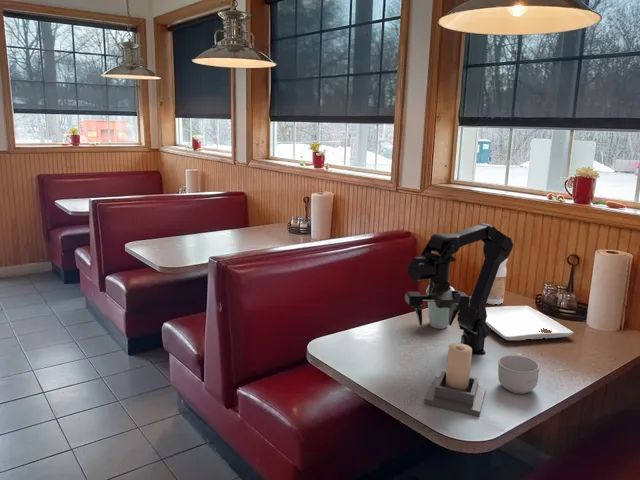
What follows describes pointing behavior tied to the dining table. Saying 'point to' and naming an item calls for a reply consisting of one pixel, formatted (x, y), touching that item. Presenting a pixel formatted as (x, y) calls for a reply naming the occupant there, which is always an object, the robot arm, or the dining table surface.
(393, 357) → the dining table surface
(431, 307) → the disposable coffee cup
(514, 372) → the teacup
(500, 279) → the fruit juice
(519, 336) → the square plate
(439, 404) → the roll caddy
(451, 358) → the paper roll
